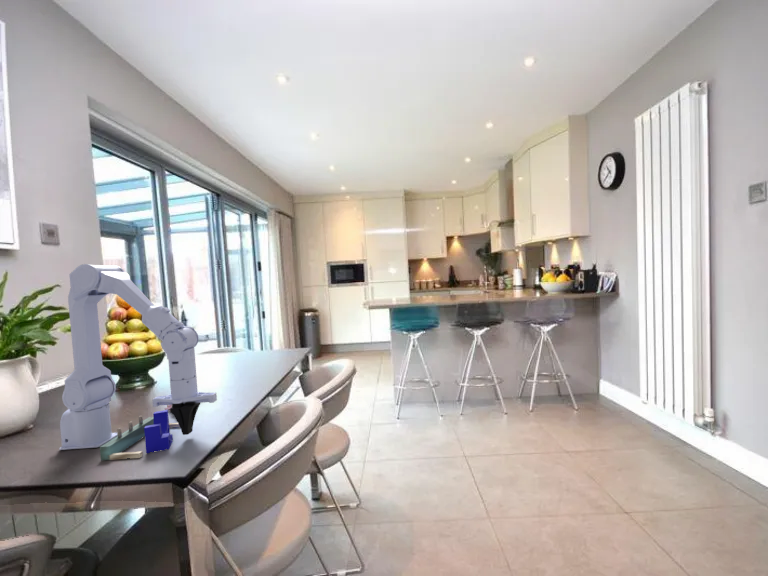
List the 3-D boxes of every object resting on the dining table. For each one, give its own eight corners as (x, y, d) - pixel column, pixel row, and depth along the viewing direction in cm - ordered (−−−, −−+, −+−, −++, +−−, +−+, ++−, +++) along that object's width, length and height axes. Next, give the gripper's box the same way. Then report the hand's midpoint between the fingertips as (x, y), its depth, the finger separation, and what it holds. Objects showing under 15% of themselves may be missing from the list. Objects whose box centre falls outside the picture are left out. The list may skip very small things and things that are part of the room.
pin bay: (100, 460, 83) (99, 438, 83) (149, 428, 101) (148, 409, 101) (140, 457, 83) (138, 435, 83) (181, 426, 101) (180, 407, 101)
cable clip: (169, 449, 87) (167, 424, 87) (146, 454, 85) (144, 428, 85) (176, 431, 98) (174, 408, 98) (156, 435, 97) (154, 411, 96)
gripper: (143, 384, 88) (147, 442, 88) (206, 380, 88) (210, 437, 89) (160, 376, 95) (164, 430, 95) (218, 372, 95) (222, 426, 96)
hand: (187, 433), depth 92 cm, fingers closed
